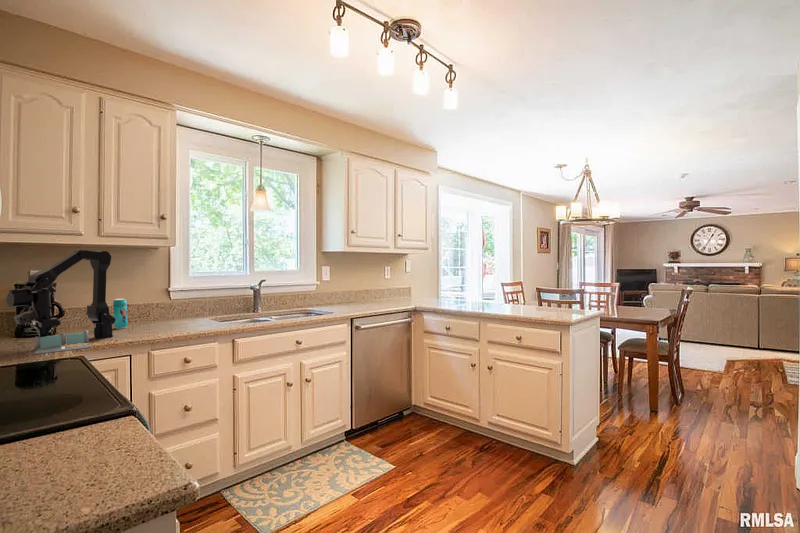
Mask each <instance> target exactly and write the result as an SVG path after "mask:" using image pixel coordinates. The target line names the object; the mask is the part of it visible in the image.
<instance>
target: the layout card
mask: <svg viewBox="0 0 800 533" xmlns="http://www.w3.org/2000/svg"><path fill="white" fill-rule="evenodd" d="M66 343H67V341H66ZM89 348H90V343H89V344H87V345H82V346H75V347H66V345H59V346H51V347H43V348H35V351H34V355H42V354H50V353H56V352H58V353H59V352H67V351H77V350H82V349H84V350H85V349H89Z"/></svg>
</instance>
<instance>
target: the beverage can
mask: <svg viewBox="0 0 800 533" xmlns="http://www.w3.org/2000/svg"><path fill="white" fill-rule="evenodd" d="M127 305H128V303H127V300H126V298H115V299H114V298H113V302H112V306H113V307H112V309H113V310H112V311H113V317H114V318H115V319H116V320H115V323H114V324H113V327H114V328H115V329H116V330H121V329H122V330H123V329H127V326H128V306H127Z"/></svg>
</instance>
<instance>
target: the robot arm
mask: <svg viewBox="0 0 800 533" xmlns="http://www.w3.org/2000/svg"><path fill="white" fill-rule="evenodd" d="M82 260H86V261H89V262H90V266H91V268H92V270H93V279H92V280H93V283H92V285H93V286H92V302H91V303H90V305H87V306H86V315H87V318H88V319H89V320H90V321H91V323H92V324H93V325H95V326H94V327H93V338H94V337H95V339H96V338H97V339H102V338H103V339H104V338H105V339H107V338H113V337H114V334H113V325H114V323H115V320H116V319H115V318H114V315H113V316H112V315H111V313H110V308H109V306H108V304H107V300H106V298H107V297H106V296H107V272H108V271H107V270H108V269H109V267H110V265H111V262H112V254H111V253H110V252H109V251H107V250H94V251H92V250H86V249H81V248H80V249H75V250H73V252H71V253H70V254H67V256H65V257H64V258H62V259H59V261H57V262H55V263H54V264H53V265H51V266H50V267H47V268H45V269H41V270H39V271H37V272H34V273H31V274H30V275H29V277H28V280H27V281H26V283H25V284H24V286H22V288H20V289H17V288H16V289H11V288H10V289H8V293H7V295H6V297H5V301H6V304H7V306H8V307H9V308H15V307H25V306H29V305H30V304H31V306H29V310H28V311H25V312H22V313H19V314H17V315H14V316H13V319H14V321H15V323H16V324H17V325H20V326H21V325H25V324H29V323H32V324H30V325H29V326H30V327H31V328H34V329H35V330H36V332H37V334H38V335H37V336H40V337H46V336H49V335H48V334H50V332H51V330H52V328H53V327H58V326H61V319H59V318H57V317H54V316H53V315H52V312H51V311H52V309H53V305H51V293H56V292H57V290H56V289H55V288H53V287H52V286H51V285H52V284H53V283H54V282H56V280H57V278H58V277H59V276H60V275H61V274H62V273H64V272H66V271H67V270H69V269H70V268H72V267H73V266H74V265H76V264H78V263H80V262H81V261H82Z"/></svg>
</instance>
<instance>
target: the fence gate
mask: <svg viewBox="0 0 800 533" xmlns="http://www.w3.org/2000/svg"><path fill="white" fill-rule="evenodd" d="M34 338H35V349H37V348H43V347H51V346H59V345H66V342H67V339H66V333H60V334H56V335H47V336H46V337H40V336H39V335H37V336H35V337H34Z"/></svg>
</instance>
